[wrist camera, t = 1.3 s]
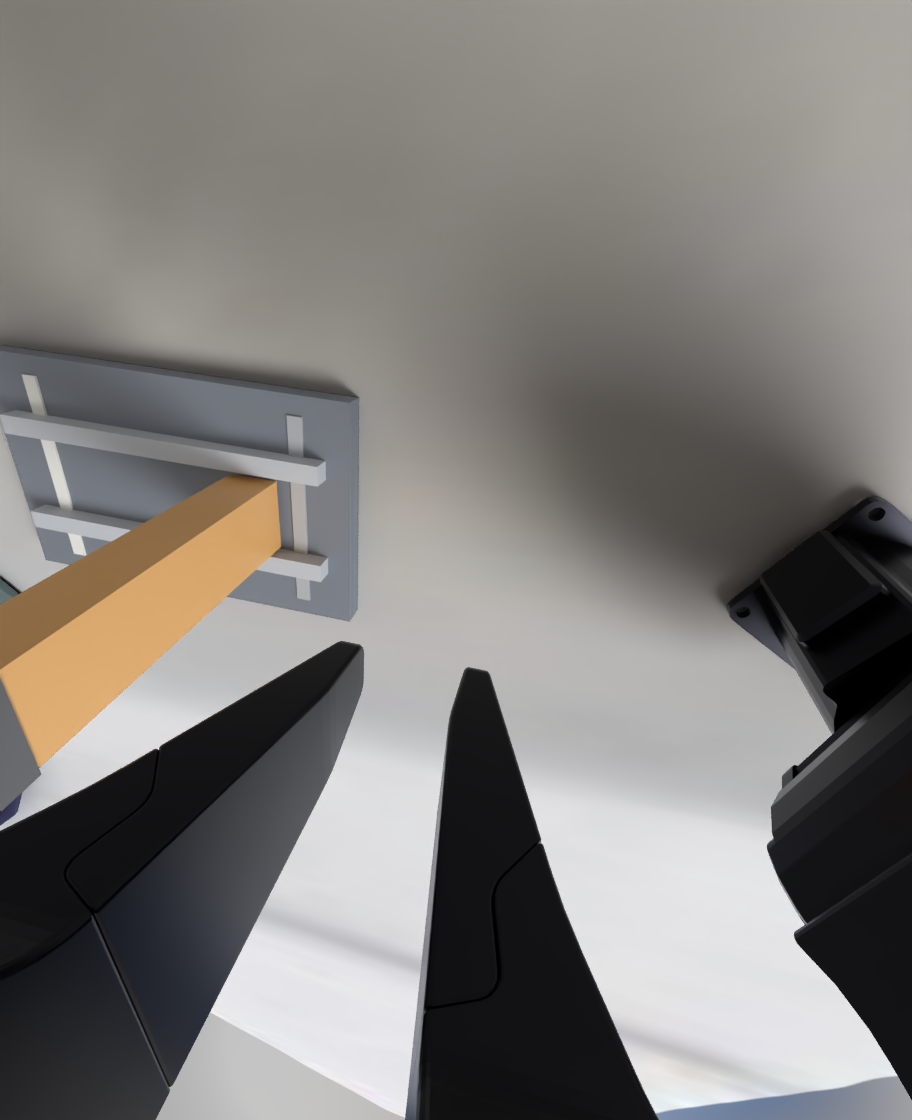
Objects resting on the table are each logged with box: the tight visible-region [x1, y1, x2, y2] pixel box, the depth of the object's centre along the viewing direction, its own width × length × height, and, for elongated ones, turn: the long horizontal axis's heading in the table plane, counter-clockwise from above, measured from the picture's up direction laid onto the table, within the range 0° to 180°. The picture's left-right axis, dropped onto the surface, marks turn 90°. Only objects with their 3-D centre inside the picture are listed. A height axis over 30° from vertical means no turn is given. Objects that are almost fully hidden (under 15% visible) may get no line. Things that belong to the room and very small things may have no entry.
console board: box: [0, 345, 359, 622], centre depth 23 cm, size 16×10×2 cm, turn 84°
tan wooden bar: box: [0, 474, 281, 811], centre depth 17 cm, size 2×3×13 cm
